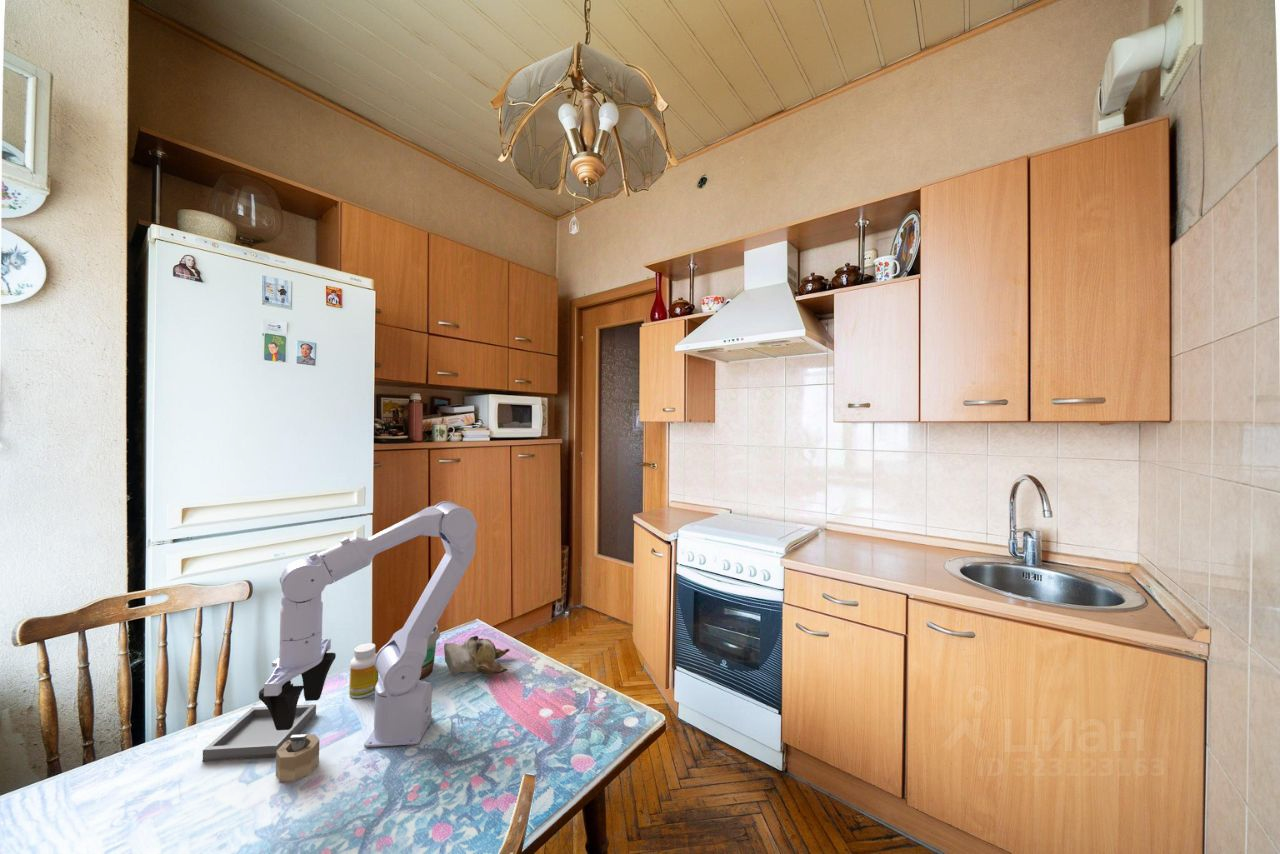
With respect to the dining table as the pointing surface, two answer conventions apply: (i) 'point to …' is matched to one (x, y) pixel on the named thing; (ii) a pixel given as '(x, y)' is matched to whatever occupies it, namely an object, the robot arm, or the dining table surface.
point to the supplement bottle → (363, 671)
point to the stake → (298, 742)
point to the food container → (430, 654)
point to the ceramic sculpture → (474, 657)
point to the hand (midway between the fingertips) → (299, 713)
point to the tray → (256, 735)
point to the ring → (297, 759)
